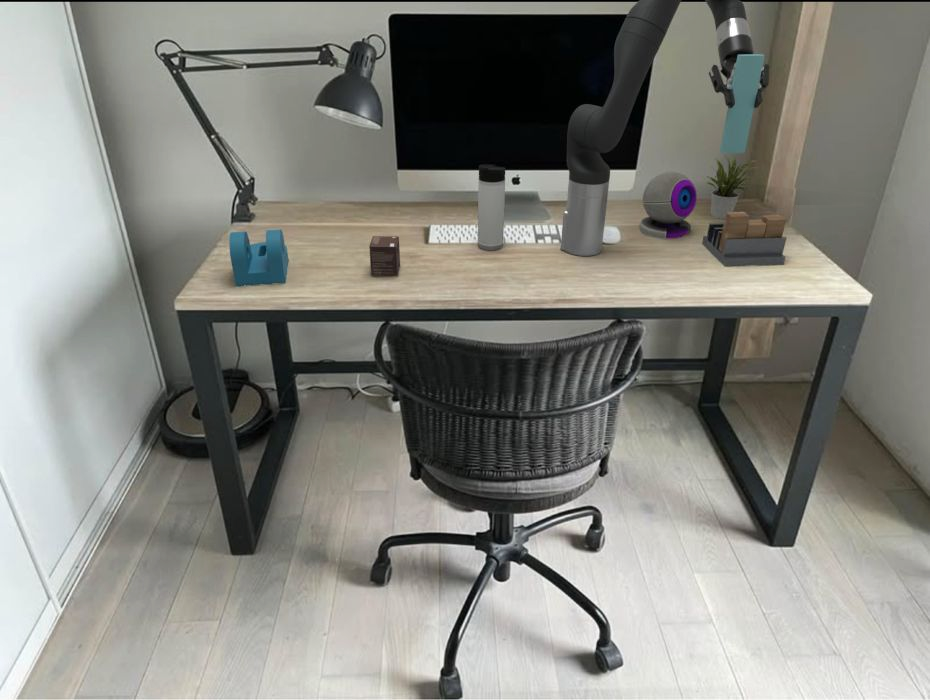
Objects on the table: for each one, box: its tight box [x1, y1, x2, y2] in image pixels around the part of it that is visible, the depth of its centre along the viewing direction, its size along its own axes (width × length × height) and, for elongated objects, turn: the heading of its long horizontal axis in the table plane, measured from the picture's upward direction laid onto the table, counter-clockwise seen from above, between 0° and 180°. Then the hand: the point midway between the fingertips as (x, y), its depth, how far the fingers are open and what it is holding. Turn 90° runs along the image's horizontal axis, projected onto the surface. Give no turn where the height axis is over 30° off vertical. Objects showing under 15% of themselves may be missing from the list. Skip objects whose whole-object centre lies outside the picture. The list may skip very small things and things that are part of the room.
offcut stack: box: [719, 211, 787, 253], centre depth 158 cm, size 3×13×9 cm, turn 94°
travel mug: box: [477, 163, 506, 251], centre depth 163 cm, size 6×7×20 cm
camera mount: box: [228, 229, 289, 287], centre depth 154 cm, size 18×10×10 cm, turn 10°
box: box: [368, 235, 401, 277], centre depth 153 cm, size 6×6×7 cm
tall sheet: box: [719, 53, 765, 154], centre depth 162 cm, size 2×6×22 cm, turn 94°
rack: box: [701, 222, 787, 267], centre depth 163 cm, size 14×14×6 cm
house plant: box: [705, 154, 761, 220], centre depth 183 cm, size 14×14×16 cm
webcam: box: [638, 171, 698, 240], centre depth 174 cm, size 13×13×15 cm
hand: (744, 105), depth 160 cm, fingers closed on tall sheet, 5 cm apart
